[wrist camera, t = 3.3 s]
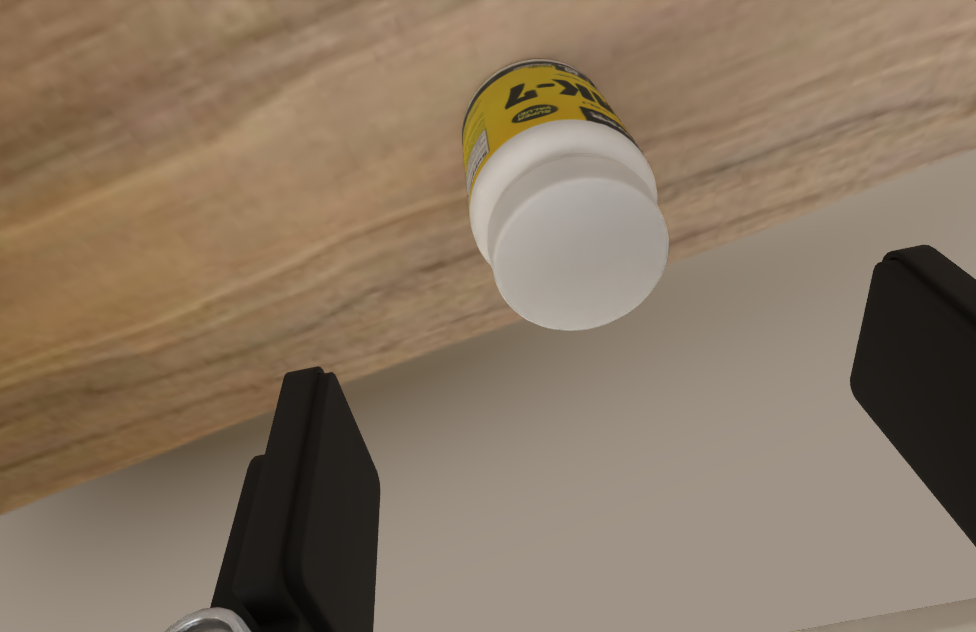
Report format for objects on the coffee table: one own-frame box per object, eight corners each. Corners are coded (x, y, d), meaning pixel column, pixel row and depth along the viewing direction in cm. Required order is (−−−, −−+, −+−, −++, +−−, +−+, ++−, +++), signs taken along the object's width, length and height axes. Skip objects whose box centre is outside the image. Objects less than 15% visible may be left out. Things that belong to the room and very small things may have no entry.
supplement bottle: (625, 72, 20) (726, 183, 13) (580, 206, 23) (646, 357, 16) (476, 39, 19) (502, 142, 12) (447, 184, 22) (457, 333, 15)
